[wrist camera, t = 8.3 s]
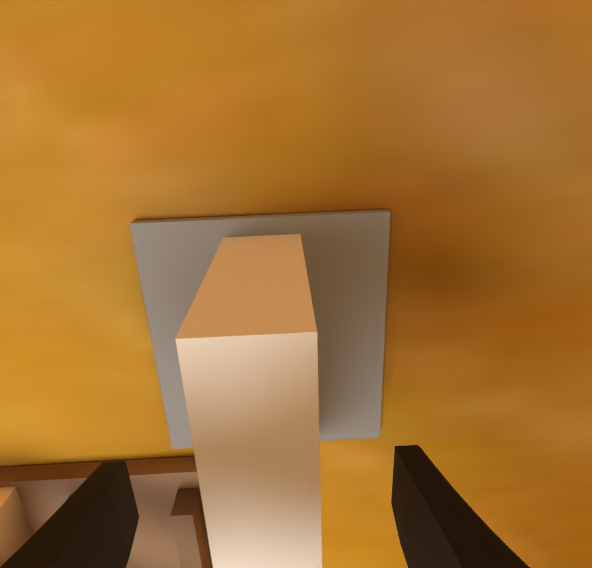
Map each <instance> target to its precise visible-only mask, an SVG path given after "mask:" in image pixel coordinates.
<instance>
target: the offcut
mask: <svg viewBox="0 0 592 568" xmlns="http://www.w3.org/2000/svg"><path fill="white" fill-rule="evenodd" d="M33 534H34V533H33V531H32V528H31V526H30V523H29V520H28V518H27V515H26V513H25V510H24V507H23V505H22V502H21V500H20V497H19V494H18V492H17V489H16V487H1V488H0V567H1V566H2V565H3V564H4V563H5V562H6V561H7V560H8V559H9V558H10V557H11V556H12V555H13V554H14V553H15V552H16V551H17V550H18V549H19V548H20V547H21V546H22V545H23V544H24V543H25V542H26V541H27V540H28V539H29V538H30V537H31V536H32V535H33Z"/></svg>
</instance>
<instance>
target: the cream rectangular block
mask: <svg viewBox="0 0 592 568" xmlns="http://www.w3.org/2000/svg"><path fill="white" fill-rule="evenodd" d="M175 340H176V346H177V352H178V359H179V365H180V371H181V377H182V383H183V389H184V395H185V401H186V407H187V413H188V419H189V425H190V431H191V437H192V444H193V450H194V456H195V462H196V468H197V474H198V480H199V486H200V492H201V498H202V504H203V510H204V516H205V522H206V529H207V535H208V541H209V547H210V553H211V559H212V565H213V568H322V543H321V494H320V445H319V397H318V348H317V328H316V322H315V316H314V310H313V305H312V299H311V293H310V287H309V281H308V275H307V270H306V264H305V258H304V252H303V246H302V240H301V234H288V235H266V236H243V237H223V239H222V241H221V243H220V246H219V248H218V250H217V252H216V254H215V256H214V258H213V260H212V262H211V265H210V267H209V269H208V271H207V273H206V275H205V277H204V279H203V281H202V284H201V286H200V288H199V290H198V292H197V294H196V296H195V298H194V300H193V303H192V305H191V307H190V309H189V311H188V313H187V315H186V317H185V319H184V322H183V324H182V326H181V328H180V330H179V332H178V334H177V336H176V338H175Z"/></svg>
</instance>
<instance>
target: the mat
mask: <svg viewBox="0 0 592 568" xmlns="http://www.w3.org/2000/svg"><path fill="white" fill-rule="evenodd" d="M390 214H391V212H390V211H389V210H388V209H380V210H358V211H335V212H313V213H291V214H268V215H246V216H224V217H201V218H179V219H157V220H135V221H132V222H131V223H130V229H131V235H132V240H133V245H134V250H135V256H136V261H137V266H138V271H139V277H140V282H141V287H142V293H143V298H144V303H145V308H146V314H147V319H148V324H149V329H150V335H151V340H152V345H153V351H154V356H155V361H156V366H157V372H158V377H159V382H160V387H161V393H162V398H163V403H164V408H165V414H166V419H167V424H168V430H169V435H170V440H171V445H172V449H181V448H193V444H192V437H191V431H190V425H189V419H188V413H187V407H186V401H185V395H184V389H183V383H182V377H181V371H180V365H179V359H178V352H177V346H176V340H175V338H176V336H177V334H178V332H179V330H180V328H181V326H182V324H183V322H184V319H185V317H186V315H187V313H188V311H189V309H190V307H191V305H192V303H193V300H194V298H195V296H196V294H197V292H198V290H199V288H200V286H201V284H202V281H203V279H204V277H205V275H206V273H207V271H208V269H209V267H210V265H211V262H212V260H213V258H214V256H215V254H216V252H217V250H218V248H219V246H220V243H221V241H222V239H223V237H243V236H266V235H288V234H301V240H302V246H303V252H304V258H305V264H306V270H307V275H308V281H309V287H310V293H311V299H312V305H313V310H314V316H315V322H316V328H317V348H318V397H319V441H327V440H345V439H363V438H380V427H381V406H382V384H383V363H384V342H385V321H386V299H387V278H388V257H389V236H390Z"/></svg>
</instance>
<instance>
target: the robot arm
mask: <svg viewBox="0 0 592 568" xmlns="http://www.w3.org/2000/svg"><path fill="white" fill-rule="evenodd" d="M391 503H392V508H393V512H394V517H395V522H396V526H397V530H398V535H399V539H400V543H401V547H402V550H403V553H404V556H405V559H406V562H407V565H408V568H530V567H529V566H528V565H526V564H525V563H524V562H523V561H522V560H521V559H520V558H519V557H518V556H517V555H516V554H515V553H514V552H513V551H512V550H511V549H510V548H509V547H508V546H507V545H506V544H505V543H504V542H503V541H502V540H501V539H500V538H499V537H498V536H497V535H496V534H495V533H494V532H493V531H492V530H491V529H490V528H489V527H488V526H487V525H486V524H485V523H484V522H483V520H482V519H481V518H480V517H479V516H478V515H477V514H476V513H475V512H474V511H473V510H472V508H471V507H470V506H469V505H468V504H467V503H466V502H465V501H464V500H463V498H462V497H461V496H460V495H459V494H458V493H457V492H456V490H455V489H454V488H453V487H452V486H451V485H450V483H449V482H448V481H447V480H446V479H445V477H444V476H443V475H442V474H441V473H440V471H439V470H438V469H437V468H436V466H435V465H434V464H433V463H432V461H431V460H430V459H429V458H428V456H427V455H426V454H425V453H424V451H423V450H422V449H421V448H420V447H419V446H418V445H409V446H395V454H394V470H393V486H392V501H391ZM138 520H139V513H138V509H137V505H136V501H135V497H134V493H133V489H132V485H131V481H130V477H129V472H128V468H127V464H126V461H115V462H102V463H101V465H100V466H99V467H98V468H97V469H96V470H95V471H94V472H93V473H92V474H91V475H90V476H89V477H88V478H87V479H86V480H85V481H84V482H83V483H82V484H81V485H80V486H79V488H78V489H77V490H76V491H75V492H74V493H73V494H72V495H71V496H70V497H69V498H68V499H67V500H66V501H65V502H64V503H63V505H62V506H61V507H60V508H59V509H58V510H57V511H56V512H55V513H54V514H53V515H52V516H51V517H50V518H49V519H48V520H47V521H46V522H45V523H44V524H43V525H42V526H41V527H40V528H39V529H38V530H37V531H36V532H35V533H34V534H33V535H32V536H31V537H30V538H29V539H28V540H27V541H26V542H25V543H24V544H23V545H22V546H21V547H20V548H19V549H18V550H17V551H16V552H15V553H14V554H13V555H12V556H11V557H10V558H9V559H8V560H7V561H6V562H5V563H4V564H3V565H2V566H1V567H0V568H126V566H127V563H128V560H129V557H130V553H131V549H132V545H133V541H134V537H135V533H136V529H137V525H138Z"/></svg>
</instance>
